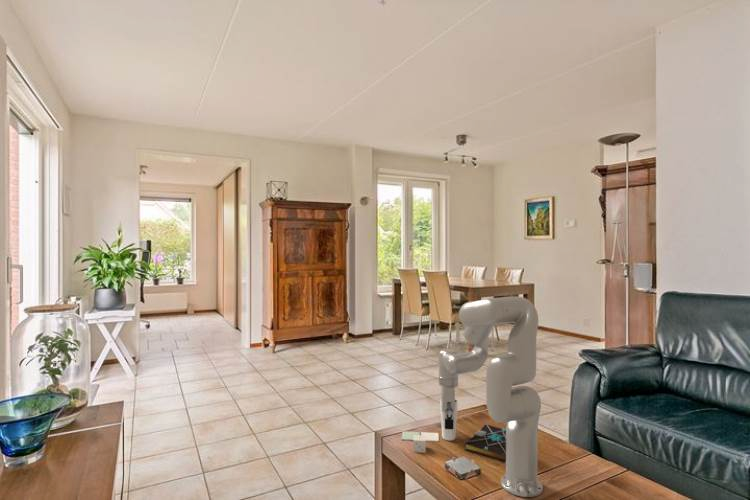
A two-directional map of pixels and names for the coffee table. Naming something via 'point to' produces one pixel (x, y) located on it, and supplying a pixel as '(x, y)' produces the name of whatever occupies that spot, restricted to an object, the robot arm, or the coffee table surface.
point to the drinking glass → (446, 433)
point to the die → (419, 443)
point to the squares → (429, 436)
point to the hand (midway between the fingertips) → (448, 423)
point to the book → (489, 442)
